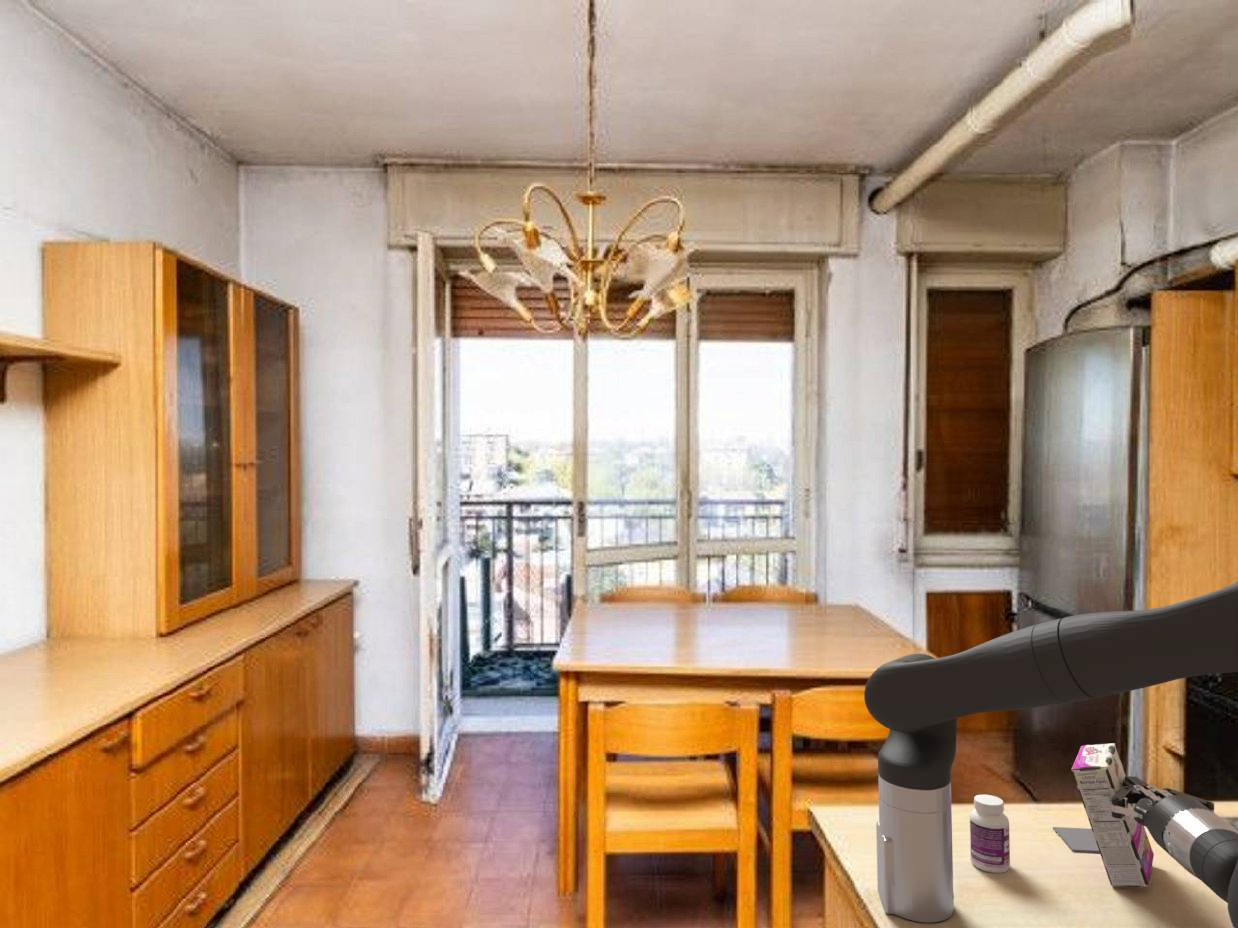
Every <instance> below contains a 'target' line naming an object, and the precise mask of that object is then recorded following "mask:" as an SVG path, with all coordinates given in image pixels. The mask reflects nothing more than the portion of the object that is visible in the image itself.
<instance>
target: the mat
mask: <svg viewBox="0 0 1238 928" xmlns="http://www.w3.org/2000/svg"><path fill="white" fill-rule="evenodd" d="M1052 829H1053V831H1054V830H1055V831H1056V832H1057V833H1058V834H1057V833H1056V832H1055V831H1054V832H1055V833H1056V834H1057V836H1059V838H1060V837H1061V838H1062V839H1061V838H1060V839H1061V840H1062V841H1063V842H1064V843H1065V845H1066V846H1068V848H1069V849H1070V850H1071V852H1073V853H1074V852H1075V853H1095V854H1100V851H1099V848H1098V846H1097V843H1096V839H1095V837H1094V834H1093V831H1092V828H1085V827H1084V828H1083V827H1081V828H1080V827H1064V826H1063V827H1062V826H1061V827H1059V826H1053V827H1052Z"/></svg>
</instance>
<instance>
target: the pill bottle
mask: <svg viewBox="0 0 1238 928" xmlns="http://www.w3.org/2000/svg"><path fill="white" fill-rule="evenodd" d="M973 806H974V808H973V810H971V811H970V814H969V837H970V838H969V841H970V842H969V844H970V846H969V849H970V850H969V851H970V854H969V855H970V861H971V864H973V866H974V867H976V868H977V869H979V870H982V871H984V872H987V873H993V874H999V873H1005V872H1007V871H1008V870H1009V869H1010V868H1011V867H1010V866H1011V860H1010V859H1011V853H1010V850H1011V849H1010V848H1011V847H1010V846H1011V845H1010V843H1011V842H1010V821H1009V820H1010V819H1009V818H1008V816H1007V815H1006V814H1005V813H1004V810H1005V807H1004V806H1005V803H1004V800H1003V799H1001V798H1000V797H999V796H995V795H990V794H977V795H975V796H974V798H973Z"/></svg>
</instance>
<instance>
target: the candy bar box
mask: <svg viewBox="0 0 1238 928" xmlns="http://www.w3.org/2000/svg"><path fill="white" fill-rule="evenodd" d="M1071 772H1072V773H1071V774H1072V776H1073V778H1074V781H1075V784H1076V787H1077V790H1078V793H1079V796H1080V799H1081V802H1082V804H1083V808H1084V810H1085V814H1086V816H1087V819H1088V821H1089V824H1090V827H1091V828H1090V829H1092V831H1093V834H1094V837H1095V839H1096V843H1097V846H1098V848H1099V851H1100V853H1099V854H1100V857H1101V860H1102V863H1103V866H1104V869H1105V872H1106V875H1107V878H1108V881H1109V884H1110V886H1111V887H1115V888H1149V887H1150V885H1151V884H1150V882H1151V876H1152V870H1153V869H1152V868H1153V862H1154V856H1155V854H1154V851H1153V849H1152V846H1151V842H1150V841H1149V837H1148V835H1147V832H1146V827H1145V826H1143V825H1141V824H1139V823H1137V822H1136V821H1135V819H1134V817H1132V816H1128V817H1125V816H1124V817H1123V818H1121V819H1117V818H1114V817H1112V810H1111V797H1112V796H1113V795H1114V794H1115V793H1116V792H1117V791H1118V790H1119V789H1120V788H1121V787H1123V779H1124V778H1125V776H1127V775H1126V772H1125V769H1124V765H1123V763H1122V761H1121V757H1120V755H1119V752H1118V748H1117V746H1116V743H1114V742H1113V743H1111V742H1110V743H1095V744H1084V745H1081V746H1080V748H1079V751H1078V754H1077V756H1076V758H1075V760H1074V762H1073V765H1072V767H1071ZM1132 807H1135V804H1132Z"/></svg>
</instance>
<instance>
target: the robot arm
mask: <svg viewBox="0 0 1238 928" xmlns="http://www.w3.org/2000/svg"><path fill="white" fill-rule="evenodd" d="M1226 673H1238V580H1237V581H1236V582H1234V583H1232V584H1230V585H1228V586H1225V587H1223V588H1221V589H1217V590H1214V591H1211V592H1209V593H1205V594H1203V595H1200V596H1196V597H1193V598H1190V599H1187V600H1183V601H1179V602H1177V603H1173V604H1170V605H1166V606H1161V607H1154V608H1150V609H1149V608H1148V609H1140V610H1139V609H1138V610H1117V611H1116V610H1113V611H1098V612H1097V611H1096V612H1088V613H1081V614H1080V613H1079V614H1075V615H1070V616H1066V617H1062V618H1057V619H1053V620H1049V621H1045V622H1042V623H1037V624H1034V625H1030V626H1026V627H1024V628H1021V629H1018V630H1014V631H1012V632H1008V633H1006V634H1003V635H1000V636H998V637H996V638H993V639H991V640H988V641H985V642H984V643H981V644H978V645H975V646H974V647H972V648H969V649H967V650H963V651H962V652H958V653H955V654H952V655H951V654H950V655H947V656H943V657H938V658H937V657H933V656H931V655H929V654H926V653H911V654H906V655H904V656H902V657H898V658H896V659H893V660H890V661H889V662H885V663H883V664H882V665H880V666H879V667H878V668H876V669H875V671H873V673H871V675H870V676H869V678H868V680H867V682H866V683H865V687H864V692H863V694H864V696H863V697H864V704H865V706H866V709H867V711H868V712H869V714H870V715H871V717H872V718H873V719H874V720H875V721H876V722H877V723H878V724H880V725H881V726H883V728H884V727H885V728H887V729H889V732H888V735H887V737H886V740H885V742H884V743H883V745H882V746H881V748H880V750H879V752H878V755H877V772H878V775H877V776H878V779H877V780H878V782H877V784H878V815H879V816H878V817H879V818H878V820H879V821H877V822H876V827H875V829H876V830H875V831H876V865H877V866H876V868H877V869H876V871H877V873H876V874H877V875H876V877H877V880H876V881H877V892H878V894H879V895H878V896H880V897H879V898H880V901H881V903H882V907H883V910H884V913H886V914H889V915H891V914H892V915H896V916H898V917H901V918H903V919H906V920H910V921H914V922H920V923H937V922H938V923H939V922H943V921H945V920H947V919H949V918H950V917H952V915H953V914H954V906H955V905H954V898H955V896H954V895H955V894H954V866H953V865H954V863H953V862H954V861H953V856H954V855H953V821H952V819H953V818H952V815H953V813H952V812H953V811H952V766H953V763H954V761H955V757H956V753H957V736H958V735H957V730H958V729H957V728H958V718H962V717H967V716H970V715H977V714H982V713H984V714H985V713H993V712H994V713H995V712H1006V711H1015V710H1024V709H1033V708H1041V707H1048V706H1055V705H1056V706H1057V705H1065V704H1071V703H1076V702H1082V701H1086V700H1087V701H1088V700H1093V699H1094V700H1095V699H1099V698H1103V697H1108V696H1112V695H1113V696H1114V695H1117V694H1122V693H1127V692H1131V691H1132V692H1133V691H1135V690H1141V689H1144V688H1149V687H1153V686H1157V685H1161V684H1164V683H1165V684H1166V683H1169V682H1171V681H1173V682H1174V681H1176V680H1180V679H1184V678H1192V677H1197V676H1199V677H1200V676H1204V675H1216V674H1226ZM1132 804H1135V807H1132ZM1111 810H1112V817H1114V818H1117V819H1121V818H1123V817H1124V816H1125V817H1128V816H1132V817H1134V819H1135V821H1136V822H1137V823H1139V824H1141V825H1143V826H1144V828H1147V830H1148V832H1149V834H1150V836H1151V837H1152V838H1153V840H1154V841H1155V843H1156V844H1157V845H1158V846H1159V847H1160V848H1161V849H1163V850H1164V851H1165V852H1166V853H1167V854H1168V855H1169V856H1170V857H1171V858H1173V860H1175V861H1176V862H1177V863H1178V864H1179V865H1180V866H1181V867H1182V868H1183V869H1184V870H1185V871H1187V873H1189V874H1191V875H1192V876H1193V877H1195V878H1197V879H1198V880H1199V881H1201V882H1202V883H1203V884H1205V886H1206V887H1207V888H1209V890H1211V891H1212V892H1213V893H1214V894H1215V895H1216V896H1218V897H1219V898H1220V900H1222V901H1224V902H1226V903H1227V910H1228V915H1229V919H1230V922H1231V924H1232V926H1233V928H1238V830H1237V829H1236V828H1235V827H1234V826H1233V825H1231V824H1230V823H1229V822H1227V821H1226V820H1225V819H1223V818H1222V817H1221V816H1219V815H1218V814H1216V813H1215V802H1213V801H1210V800H1207V799H1203V798H1200V797H1197V796H1194V795H1191V794H1188V793H1186V792H1181V791H1178V790H1175V789H1172V788H1170V787H1164V788H1163V789H1160V788H1158V787H1156V786H1154V785H1150V784H1148V783H1147V782H1146V781H1144V780H1142V779H1140V778H1139V777H1137V776H1130V775H1128V776H1127V775H1126V776H1125V778H1124V779H1123V787H1121V788H1120V789H1119V790H1118V791H1117V792H1116V793H1115V794H1114V795H1113V796H1112V797H1111Z"/></svg>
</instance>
